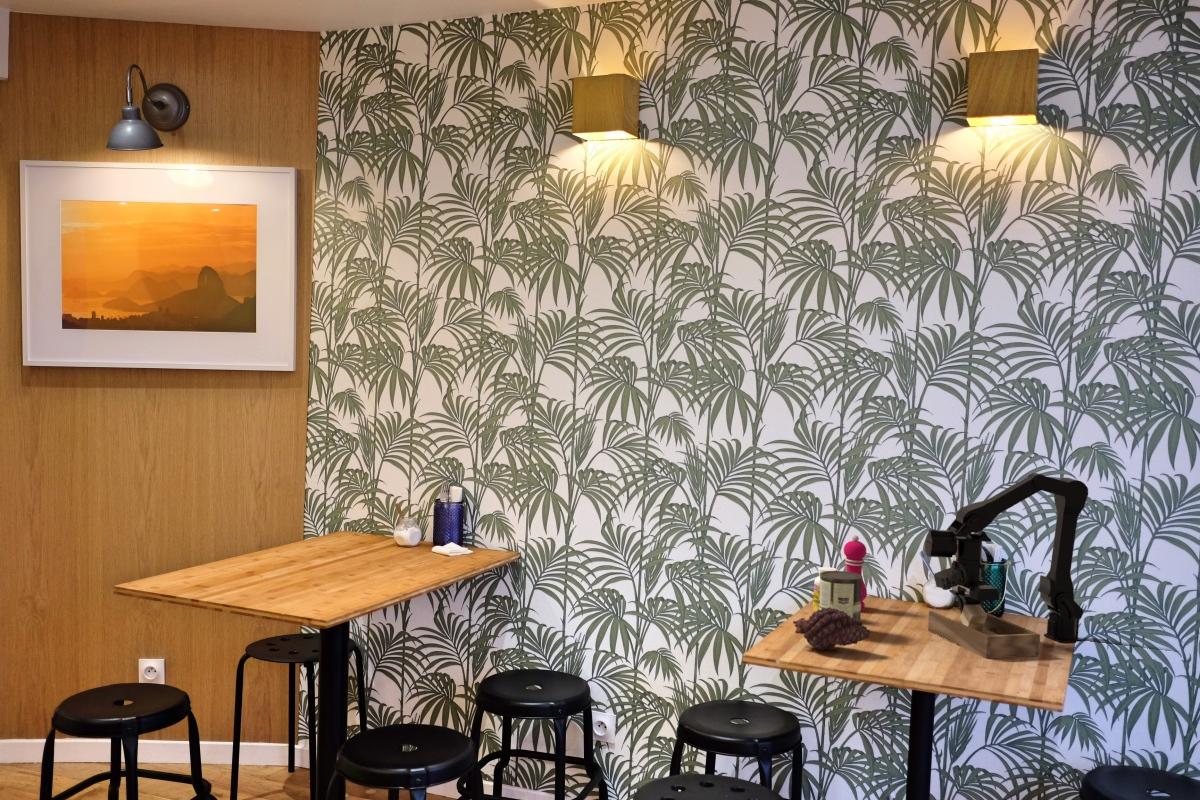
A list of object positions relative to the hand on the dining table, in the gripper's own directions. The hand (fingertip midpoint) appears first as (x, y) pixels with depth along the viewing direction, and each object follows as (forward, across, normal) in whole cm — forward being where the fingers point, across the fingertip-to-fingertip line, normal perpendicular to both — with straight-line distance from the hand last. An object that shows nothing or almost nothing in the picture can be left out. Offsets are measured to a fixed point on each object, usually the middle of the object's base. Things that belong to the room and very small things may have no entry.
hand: (965, 620), depth 260 cm
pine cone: (+4, +8, -40) cm, 41 cm away
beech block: (0, +2, 0) cm, 3 cm away
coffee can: (+4, -8, -30) cm, 31 cm away
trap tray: (+4, +7, 0) cm, 8 cm away
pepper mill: (+4, -29, -15) cm, 33 cm away
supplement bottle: (+4, -21, -27) cm, 35 cm away
